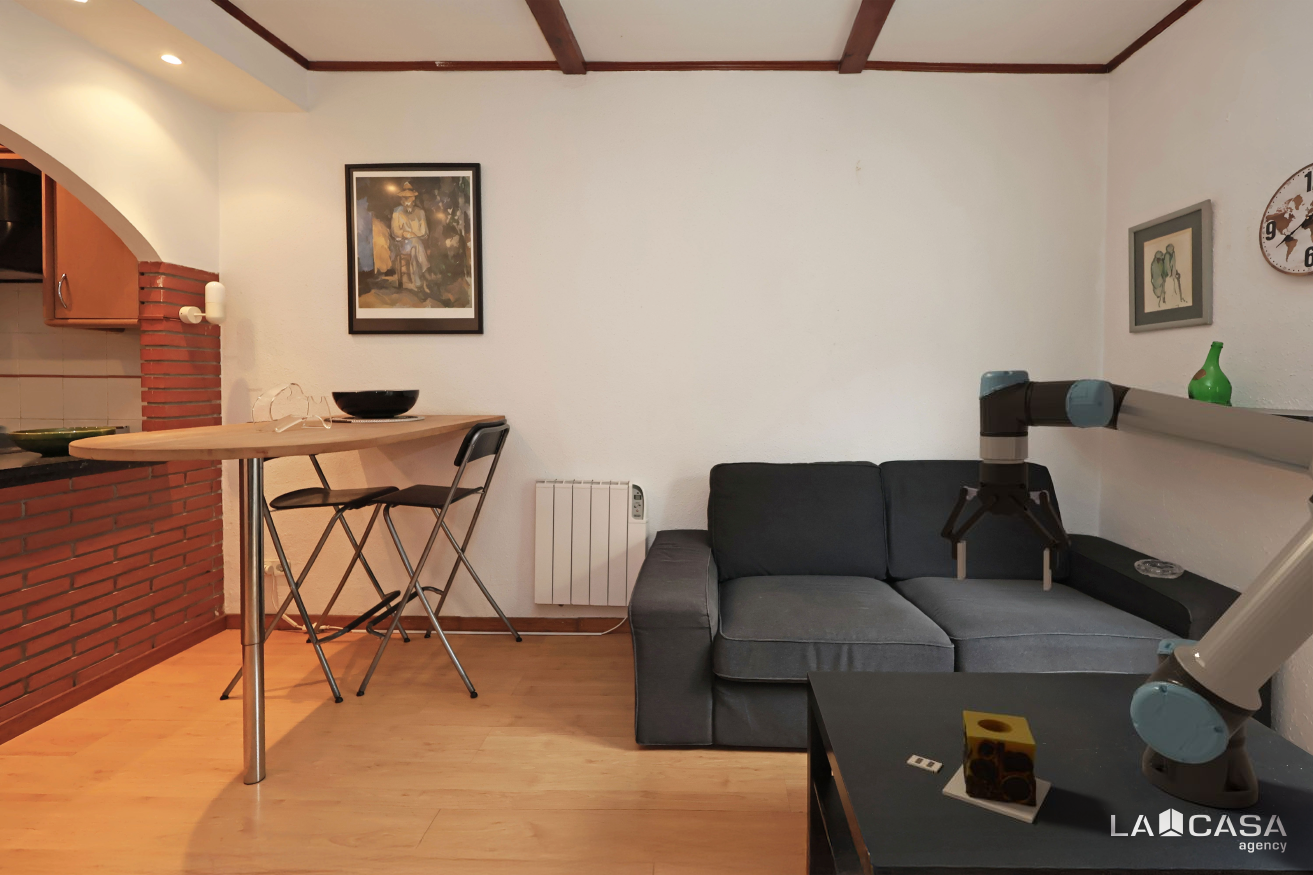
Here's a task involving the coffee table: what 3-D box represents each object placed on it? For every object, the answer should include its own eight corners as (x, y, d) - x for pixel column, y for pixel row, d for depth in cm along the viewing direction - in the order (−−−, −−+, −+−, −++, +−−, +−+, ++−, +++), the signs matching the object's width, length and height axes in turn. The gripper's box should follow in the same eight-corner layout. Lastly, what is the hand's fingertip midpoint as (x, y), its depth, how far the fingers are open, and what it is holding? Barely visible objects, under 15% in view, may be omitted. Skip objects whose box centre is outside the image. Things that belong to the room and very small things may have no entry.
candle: (1037, 808, 112) (1038, 745, 111) (965, 797, 115) (966, 735, 114) (1027, 775, 121) (1028, 716, 121) (961, 765, 125) (962, 708, 124)
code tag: (942, 765, 126) (942, 763, 126) (936, 772, 124) (936, 770, 124) (913, 756, 129) (913, 754, 129) (907, 763, 127) (907, 761, 127)
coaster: (1050, 785, 119) (1050, 782, 119) (1031, 823, 109) (1031, 819, 109) (967, 761, 127) (967, 757, 127) (942, 793, 117) (942, 790, 117)
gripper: (1090, 461, 121) (1088, 587, 122) (934, 456, 136) (934, 569, 137) (1085, 465, 115) (1083, 598, 116) (922, 460, 129) (923, 578, 131)
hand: (1003, 583), depth 126 cm, fingers open, 13 cm apart
